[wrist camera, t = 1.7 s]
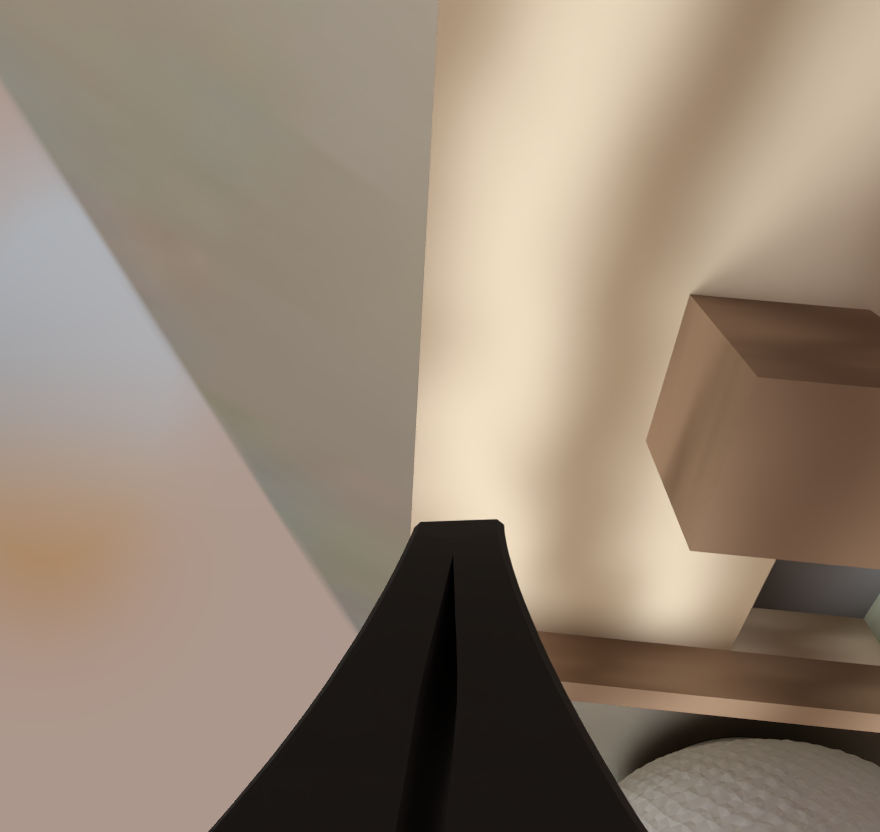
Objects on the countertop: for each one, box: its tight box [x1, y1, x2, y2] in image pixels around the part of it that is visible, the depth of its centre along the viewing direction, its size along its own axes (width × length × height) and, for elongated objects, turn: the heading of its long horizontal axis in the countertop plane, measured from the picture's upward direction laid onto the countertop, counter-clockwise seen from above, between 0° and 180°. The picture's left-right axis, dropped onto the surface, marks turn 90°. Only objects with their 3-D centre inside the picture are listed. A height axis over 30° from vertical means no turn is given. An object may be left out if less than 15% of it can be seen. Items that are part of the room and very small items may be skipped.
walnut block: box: [646, 294, 880, 569], centre depth 14 cm, size 4×4×4 cm
